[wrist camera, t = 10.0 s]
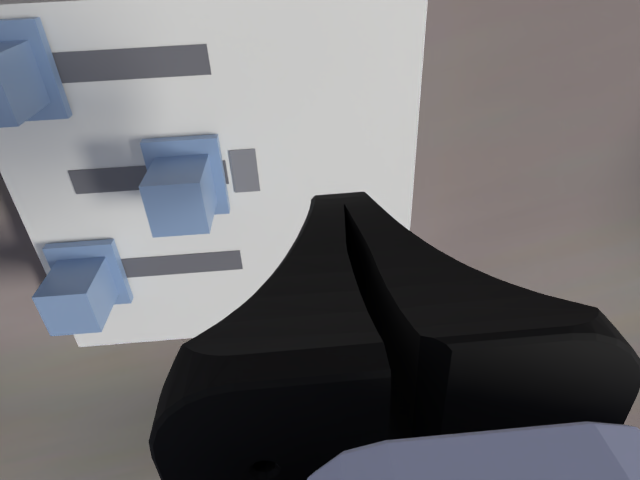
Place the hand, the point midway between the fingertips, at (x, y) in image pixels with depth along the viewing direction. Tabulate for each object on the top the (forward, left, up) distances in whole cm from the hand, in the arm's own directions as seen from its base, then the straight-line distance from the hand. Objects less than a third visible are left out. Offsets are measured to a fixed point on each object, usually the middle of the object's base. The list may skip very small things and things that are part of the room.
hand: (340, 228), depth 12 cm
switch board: (-3, +4, -9) cm, 10 cm away
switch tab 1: (+3, +10, -7) cm, 13 cm away
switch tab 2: (-6, +10, -7) cm, 14 cm away
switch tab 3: (-2, +5, -7) cm, 9 cm away
